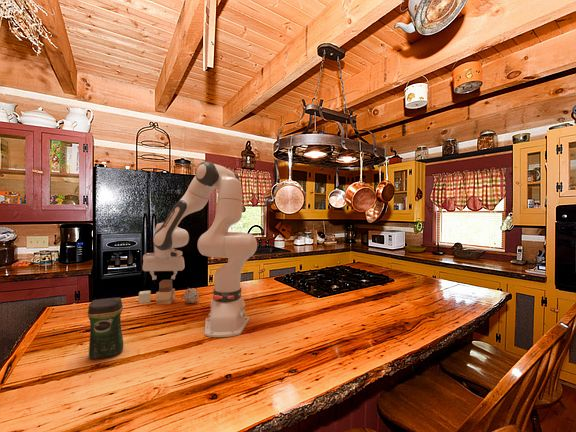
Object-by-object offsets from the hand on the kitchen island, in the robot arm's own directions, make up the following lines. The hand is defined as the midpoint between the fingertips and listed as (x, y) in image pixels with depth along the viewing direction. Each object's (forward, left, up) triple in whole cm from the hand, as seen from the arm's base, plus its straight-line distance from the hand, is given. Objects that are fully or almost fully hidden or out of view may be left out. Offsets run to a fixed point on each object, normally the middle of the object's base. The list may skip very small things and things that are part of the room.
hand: (163, 279), depth 140 cm
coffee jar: (-50, 0, -12) cm, 51 cm away
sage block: (+2, +10, -12) cm, 16 cm away
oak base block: (+1, -1, -12) cm, 12 cm away
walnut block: (+1, -1, -6) cm, 7 cm away
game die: (-2, -15, -12) cm, 19 cm away
